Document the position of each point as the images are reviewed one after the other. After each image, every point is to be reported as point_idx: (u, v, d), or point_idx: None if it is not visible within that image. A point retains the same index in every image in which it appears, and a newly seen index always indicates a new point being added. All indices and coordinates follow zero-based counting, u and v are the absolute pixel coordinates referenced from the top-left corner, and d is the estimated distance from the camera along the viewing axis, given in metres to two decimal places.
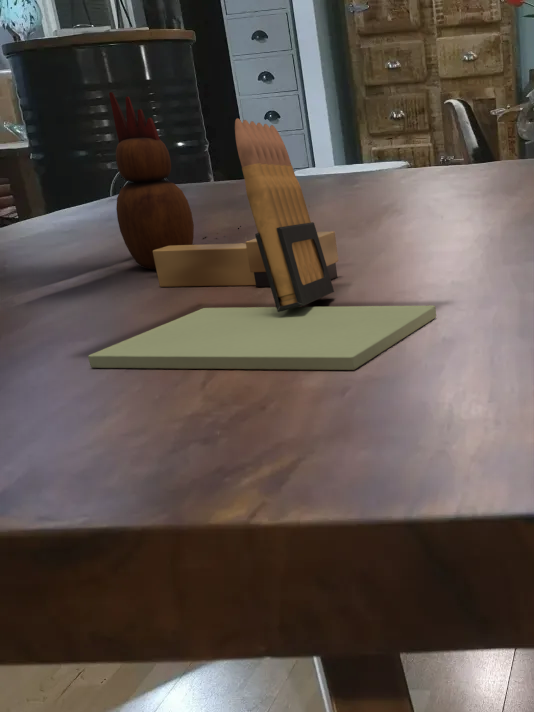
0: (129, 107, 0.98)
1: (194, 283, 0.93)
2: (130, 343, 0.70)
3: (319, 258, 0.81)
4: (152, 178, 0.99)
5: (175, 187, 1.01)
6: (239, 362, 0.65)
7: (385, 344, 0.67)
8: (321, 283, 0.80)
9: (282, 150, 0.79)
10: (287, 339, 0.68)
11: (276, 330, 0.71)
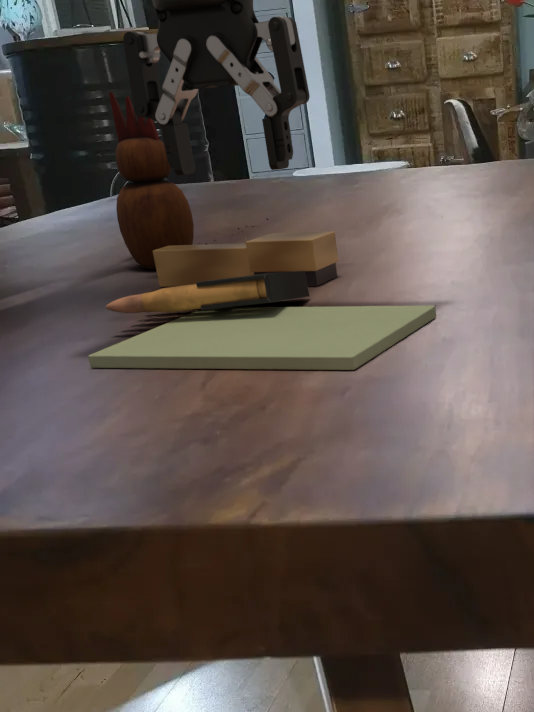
0: (129, 107, 0.98)
1: (194, 283, 0.93)
2: (130, 343, 0.70)
3: None
4: (152, 178, 0.99)
5: (175, 187, 1.01)
6: (239, 362, 0.65)
7: (385, 344, 0.67)
8: None
9: None
10: (287, 339, 0.68)
11: (276, 330, 0.71)
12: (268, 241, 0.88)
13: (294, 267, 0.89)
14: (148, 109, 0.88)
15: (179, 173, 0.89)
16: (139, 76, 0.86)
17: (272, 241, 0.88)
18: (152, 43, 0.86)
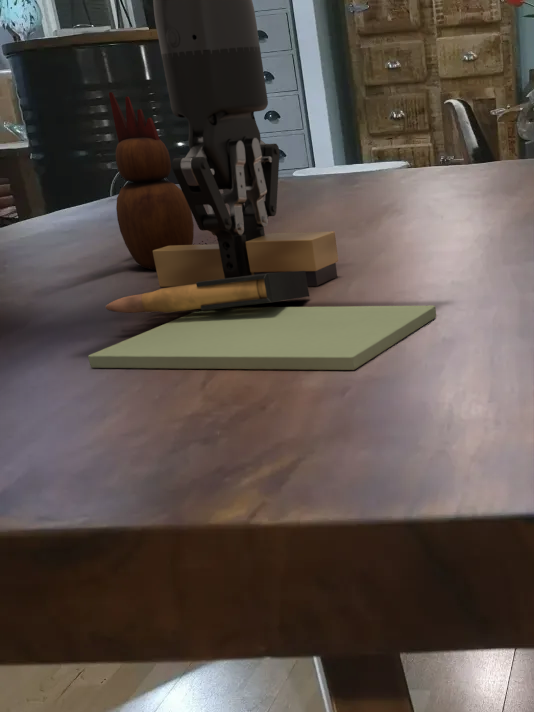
0: (129, 107, 0.98)
1: (194, 283, 0.93)
2: (130, 343, 0.70)
3: None
4: (152, 178, 0.99)
5: (175, 187, 1.01)
6: (239, 362, 0.65)
7: (385, 344, 0.67)
8: None
9: None
10: (287, 339, 0.68)
11: (276, 330, 0.71)
12: (268, 241, 0.88)
13: (294, 267, 0.89)
14: None
15: None
16: (218, 192, 0.85)
17: (272, 241, 0.88)
18: (203, 157, 0.84)
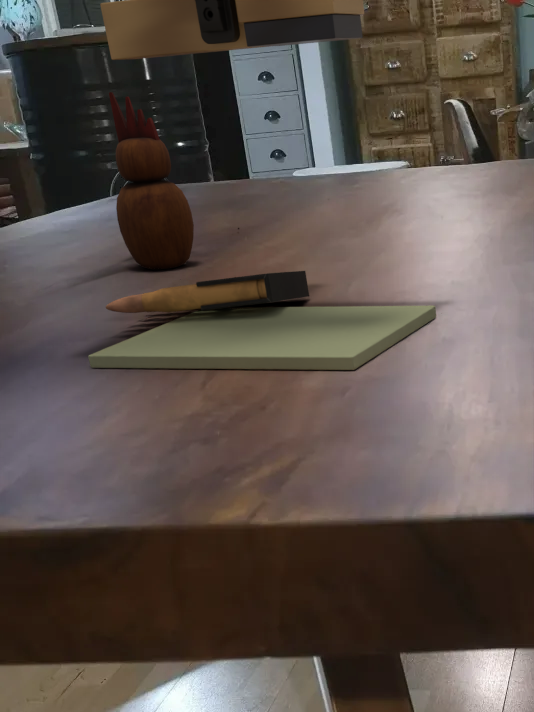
0: (129, 107, 0.98)
1: (159, 50, 0.66)
2: (130, 343, 0.70)
3: None
4: (152, 178, 0.99)
5: (175, 187, 1.01)
6: (239, 362, 0.65)
7: (385, 344, 0.67)
8: None
9: None
10: (287, 339, 0.68)
11: (276, 330, 0.71)
12: None
13: (302, 9, 0.61)
14: None
15: (235, 38, 0.64)
16: None
17: None
18: None
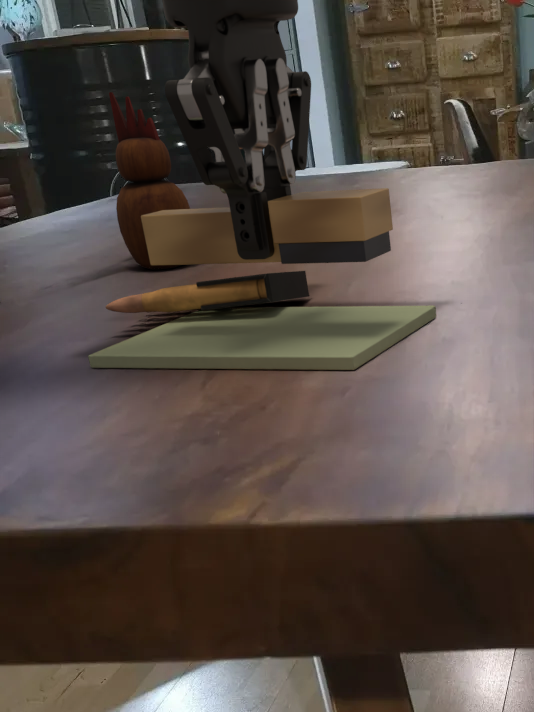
0: (129, 107, 0.98)
1: (197, 260, 0.69)
2: (130, 343, 0.70)
3: None
4: (152, 178, 0.99)
5: (175, 187, 1.01)
6: (239, 362, 0.65)
7: (385, 344, 0.67)
8: None
9: None
10: (287, 339, 0.68)
11: (276, 330, 0.71)
12: (299, 200, 0.64)
13: (335, 236, 0.65)
14: None
15: (270, 255, 0.67)
16: (229, 130, 0.61)
17: (304, 200, 0.64)
18: None
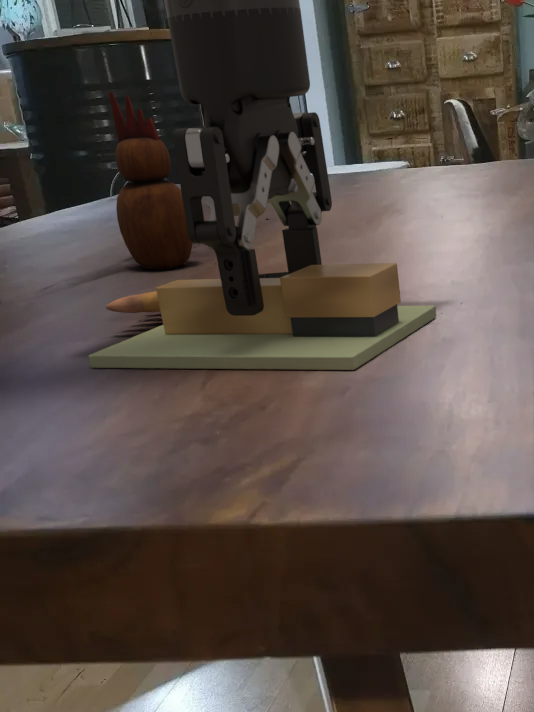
0: (129, 107, 0.98)
1: (210, 330, 0.71)
2: (130, 343, 0.70)
3: None
4: (152, 178, 0.99)
5: (175, 187, 1.01)
6: (239, 362, 0.65)
7: (385, 344, 0.67)
8: None
9: None
10: (287, 339, 0.68)
11: None
12: (310, 277, 0.66)
13: (345, 312, 0.67)
14: None
15: (259, 311, 0.66)
16: (227, 187, 0.61)
17: (316, 277, 0.66)
18: None
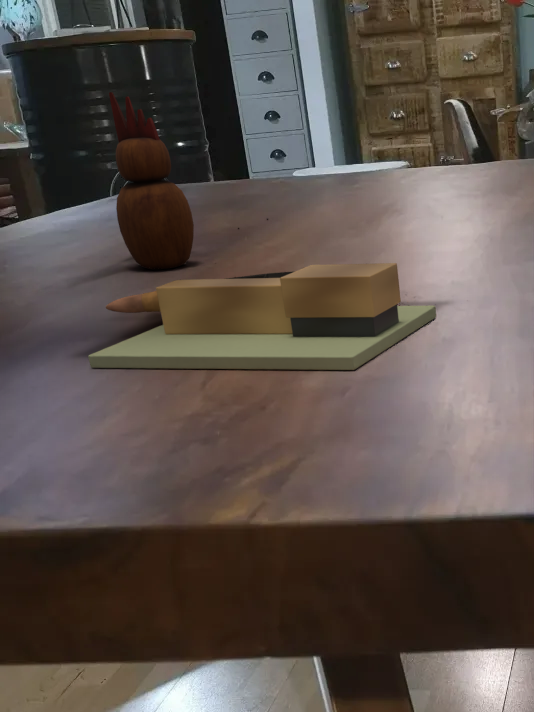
0: (129, 107, 0.98)
1: (210, 330, 0.71)
2: (130, 343, 0.70)
3: None
4: (152, 178, 0.99)
5: (175, 187, 1.01)
6: (239, 362, 0.65)
7: (385, 344, 0.67)
8: None
9: None
10: (287, 339, 0.68)
11: None
12: (310, 277, 0.66)
13: (345, 312, 0.67)
14: None
15: None
16: None
17: (316, 277, 0.66)
18: None
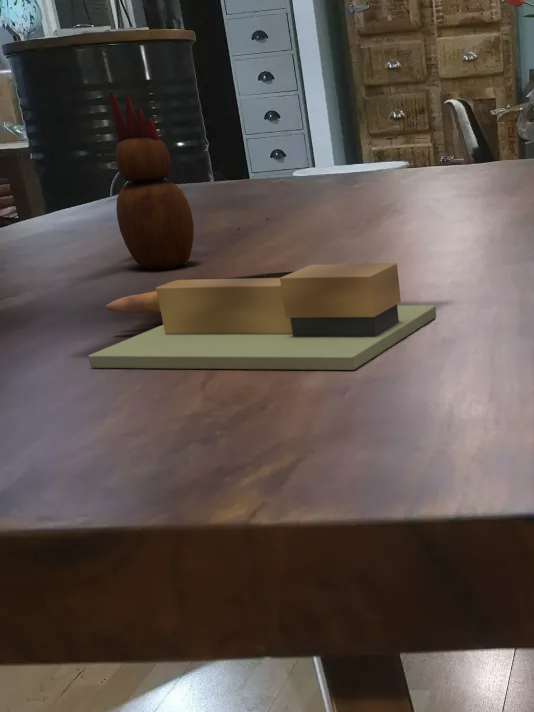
0: (129, 107, 0.98)
1: (210, 330, 0.71)
2: (130, 343, 0.70)
3: None
4: (152, 178, 0.99)
5: (175, 187, 1.01)
6: (239, 362, 0.65)
7: (385, 344, 0.67)
8: None
9: None
10: (287, 339, 0.68)
11: None
12: (310, 277, 0.66)
13: (345, 312, 0.67)
14: None
15: None
16: None
17: (316, 277, 0.66)
18: None
